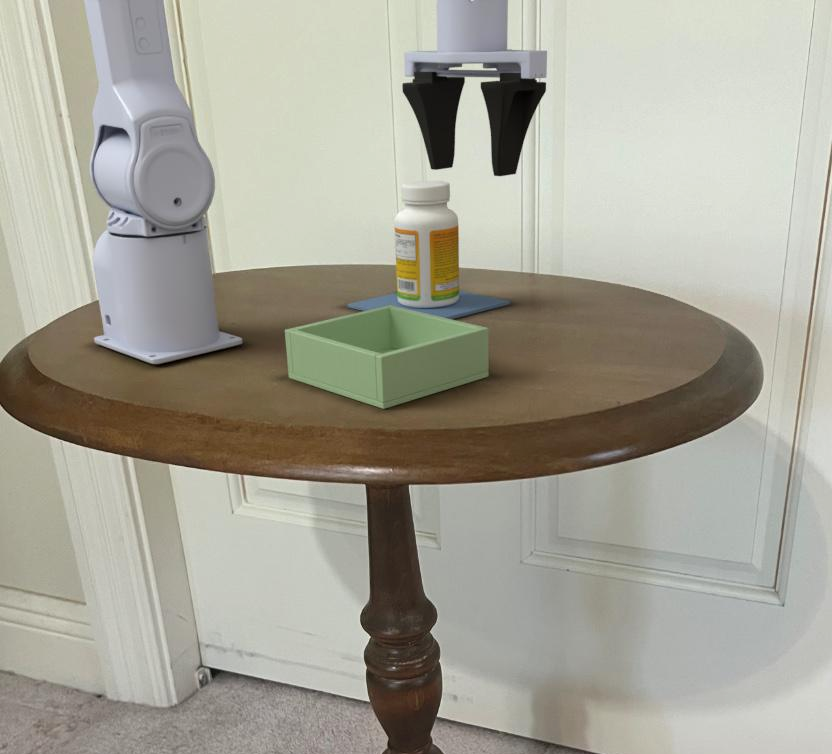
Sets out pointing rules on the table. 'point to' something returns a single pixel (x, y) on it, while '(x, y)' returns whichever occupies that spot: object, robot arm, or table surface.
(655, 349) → the table surface
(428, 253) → the supplement bottle
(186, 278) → the robot arm
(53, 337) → the table surface
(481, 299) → the mat
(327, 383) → the bin
